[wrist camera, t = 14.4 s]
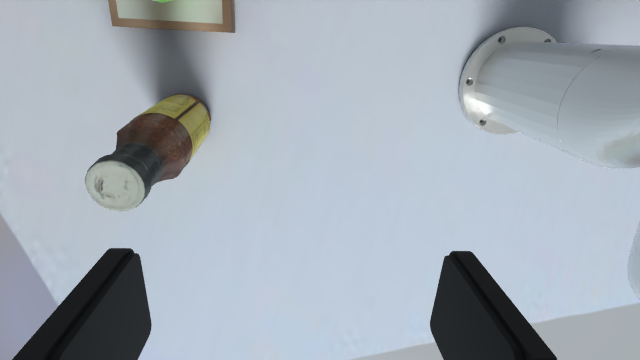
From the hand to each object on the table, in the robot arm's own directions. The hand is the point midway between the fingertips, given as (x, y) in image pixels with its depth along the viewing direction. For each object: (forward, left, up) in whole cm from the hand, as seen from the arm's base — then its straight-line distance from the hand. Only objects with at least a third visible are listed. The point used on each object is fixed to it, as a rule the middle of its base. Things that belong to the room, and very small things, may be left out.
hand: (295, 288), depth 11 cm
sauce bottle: (+13, +3, -34) cm, 37 cm away
